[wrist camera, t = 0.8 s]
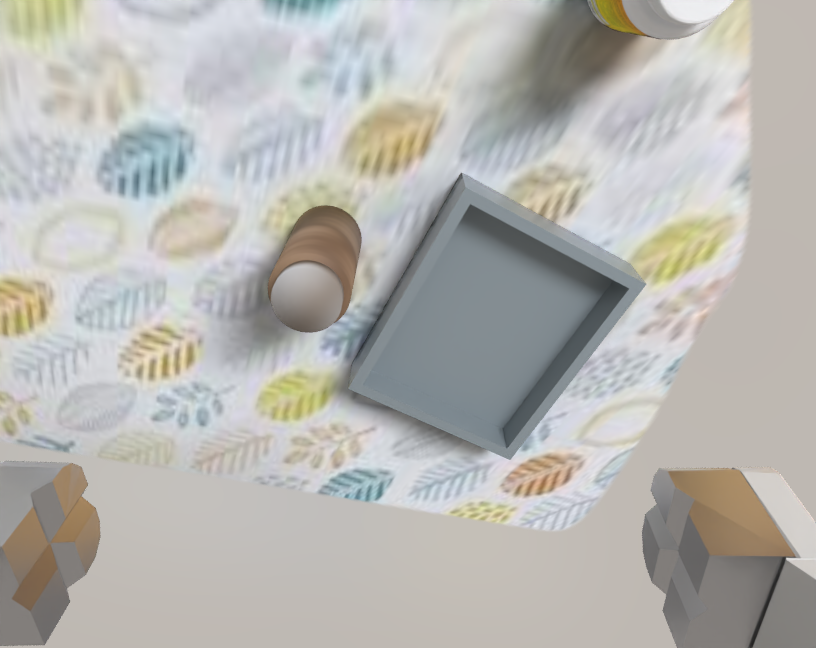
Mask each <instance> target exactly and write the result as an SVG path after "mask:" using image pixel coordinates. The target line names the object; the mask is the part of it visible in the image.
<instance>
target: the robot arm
mask: <svg viewBox="0 0 816 648" xmlns="http://www.w3.org/2000/svg"><path fill="white" fill-rule="evenodd" d="M87 486H88V483H87V481H86V478H85V475H84V473H83V470H82V468H81V467H80V466H78V465H75V464H73V463H55V462H24V461H4V462H0V646H9V645H10V646H11V645H12V646H14V645H45V644H46V642H47V640H48V639H49V637H50V635H51V633H52V632H53V630H54V628H55V627H56V625H57V623H58V622H59V620H60V618H61V616H62V615H63V613H64V611H65V610H66V608H67V606H68V604H69V603H70V600H69V595H68V591H67V588H68V587H69V586H71V585H72V584H74V583H75V582H76V581H78V580H79V579H80V578H82V577H83V576H85V575H86V573H87V572H88V570H89V568H90V566H91V564H92V562H93V561H94V559H95V556H96V553H97V548H98V544H99V540H100V521H99V517H98V514H97V511H96V508H95V507H94V506H92V505H91V504H90V503H89V502H88V501H86V500H85V499H84V498H83V497H82V494H83V493H84V491H85V489H86V487H87ZM651 492H652V494H653V496H654V499H655V501H656V503H657V504H656V505H655V506H654V507H653V508H652V509H651V510H649V511H648V512H647V513H646V514H645V519H644V525H643V530H642V538H643V539H642V540H643V554H644V559H645V563H646V567H647V570H648V573H649V576H650V578H651V581H652V583H653V584H655V585H656V586H657V587H658V588H659V589H661V590H662V591H663V592H664V593H665V594H666V599H665V603H664V607H663V613H664V615H665V618H666V621H667V623H668V626H669V628H670V631H671V633H672V636H673V638H674V641H675V643H676V646H677V648H816V522H815V521H814V519H813V518H812V517H811V515H810V514H809V513H808V511H807V510H806V509H805V507H804V506H803V504H802V503H801V502H800V501H799V499H798V498H797V496H796V495H795V494H794V492H793V491H792V490H791V488H790V487H789V485H788V484H787V483H786V481H785V480H784V479H783V477H782V476H781V475H780V473H779V472H778V471H776V470H774V469H772V468H771V467H733V468H732V469H729V468H659V469H658V470H657V472H656V474H655V476H654V478H653V483H652V487H651Z"/></svg>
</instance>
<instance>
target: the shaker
mask: <svg viewBox="0 0 816 648" xmlns="http://www.w3.org/2000/svg"><path fill="white" fill-rule="evenodd" d="M360 248H361V232H360V229H359V227H358V225H357V223H356V221H355V220H354V219H353V218H352V217H351V216H350V215H349V214H348V213H347V212H345V211H344V210H342V209H339V208H337V207H333V206H318V207H314V208H312V209H310V210H308V211H306V212H305V213H304V214H303V215H302V216H301V217H300V218H299V219H298V221H297V223H296V225H295V227H294V229H293V231H292V233H291V235H290V237H289V239H288V241H287V243H286V245H285V247H284V249H283V251H282V253H281V255H280V257H279V259H278V261H277V263H276V265H275V267H274V269H273V271H272V273H271V276H270V278H269V282H268V295H269V299H270V302H271V304H272V308H273V311H274V312H275V314H276V316H277V317H278V318H279V319H280V321H281V322H283V323H284V324H285V325H286V326H288V327H290V328H292V329H294V330H297V331H300V332H318V331H321V330H324V329H326V328H328V327H329V326H331V325H332V324H333V323H335V322H336V321H338V320H339V319H340V318H341V317H342V316H343V315H344V313H345V312H346V310H347V308H348V306H349V303H350V299H351V294H352V289H353V284H354V278H355V273H356V268H357V263H358V258H359V253H360Z"/></svg>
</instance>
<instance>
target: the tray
mask: <svg viewBox="0 0 816 648" xmlns="http://www.w3.org/2000/svg"><path fill="white" fill-rule="evenodd" d="M645 285H646V283H645V282H644V281H643V279H642V278H641V277H640V276H639V274H638V273H637V272H636V270H635V269H634V268H633V267H632V265H631V264H629V263H627V262H626V261H624V260H622V259H620V258H618V257H616V256H614V255H613V254H611V253H609V252H607V251H605V250H603V249H602V248H600V247H598V246H596V245H594V244H592V243H590V242H589V241H587V240H585V239H583V238H581V237H579V236H578V235H576V234H574V233H572V232H570V231H568V230H566V229H565V228H563V227H561V226H559V225H557V224H555V223H554V222H552V221H550V220H548V219H546V218H544V217H542V216H541V215H539V214H537V213H535V212H533V211H531V210H530V209H528V208H526V207H524V206H522V205H520V204H518V203H517V202H515V201H513V200H511V199H509V198H507V197H506V196H504V195H502V194H500V193H498V192H496V191H494V190H493V189H491V188H489V187H487V186H485V185H483V184H482V183H480V182H478V181H476V180H474V179H472V178H470V177H469V176H467V175H465V174H463V173H461V175H460V177H459V178H458V180H457V182H456V184H455V185H454V187H453V189H452V191H451V192H450V194H449V196H448V198H447V199H446V201H445V203H444V205H443V206H442V208H441V210H440V212H439V213H438V215H437V217H436V219H435V220H434V222H433V224H432V225H431V227H430V229H429V231H428V232H427V234H426V236H425V238H424V239H423V241H422V243H421V245H420V246H419V248H418V250H417V252H416V253H415V255H414V257H413V259H412V260H411V262H410V264H409V266H408V267H407V269H406V271H405V273H404V274H403V276H402V278H401V280H400V281H399V283H398V285H397V286H396V288H395V290H394V292H393V293H392V295H391V297H390V299H389V300H388V302H387V304H386V306H385V307H384V309H383V311H382V313H381V314H380V316H379V318H378V320H377V321H376V323H375V325H374V327H373V328H372V330H371V332H370V334H369V335H368V337H367V339H366V340H365V342H364V344H363V346H362V347H361V349H360V351H359V353H358V354H357V356H356V358H355V360H354V361H353V363H352V367H351V374H350V380H349V386H348V389H349V390H352V391H354V392H356V393H359V394H361V395H363V396H365V397H368V398H370V399H372V400H375V401H377V402H379V403H381V404H384V405H386V406H388V407H391V408H393V409H395V410H397V411H400V412H402V413H404V414H407V415H409V416H411V417H413V418H416V419H418V420H420V421H422V422H425V423H427V424H429V425H432V426H434V427H436V428H438V429H441V430H443V431H445V432H448V433H450V434H452V435H454V436H457V437H459V438H461V439H464V440H466V441H468V442H470V443H473V444H475V445H477V446H480V447H482V448H484V449H486V450H489V451H491V452H493V453H496V454H498V455H500V456H502V457H505V458H507V459H509V460H510V459H511V458H512V457H513V456H514V454H515V453H516V452H517V450H518V449H519V448H520V447H521V445H522V444H523V443H524V441H525V440H526V439H527V438H528V436H529V435H530V434H531V432H532V431H533V430H534V429H535V427H536V426H537V425H538V423H539V422H540V421H541V420H542V418H543V417H544V416H545V414H546V413H547V412H548V410H549V409H550V408H551V407H552V405H553V404H554V403H555V401H556V400H557V399H558V398H559V396H560V395H561V394H562V392H563V391H564V390H565V389H566V387H567V386H568V385H569V383H570V382H571V381H572V380H573V378H574V377H575V376H576V374H577V373H578V372H579V370H580V369H581V368H582V367H583V365H584V364H585V363H586V361H587V360H588V359H589V358H590V356H591V355H592V354H593V352H594V351H595V350H596V349H597V347H598V346H599V345H600V343H601V342H602V341H603V340H604V338H605V337H606V336H607V334H608V333H609V332H610V331H611V329H612V328H613V327H614V325H615V324H616V323H617V321H618V320H619V319H620V318H621V316H622V315H623V314H624V312H625V311H626V310H627V309H628V307H629V306H630V305H631V303H632V302H633V301H634V300H635V298H636V297H637V296H638V294H639V293H640V292H641V291H642V289H643V288H644V287H645Z"/></svg>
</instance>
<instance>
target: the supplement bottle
mask: <svg viewBox="0 0 816 648" xmlns="http://www.w3.org/2000/svg"><path fill="white" fill-rule="evenodd" d="M587 1H588V5H589V7H590V9H591V11H592V13H593V14H594V16H595V17H596V18H597V19H598V20H599V21H600V22H601V23H602V24H604V25H605V26H607V27H609V28H611V29H613V30H616V31H621V32H626V33H631V34H636V35H642V36H647V37H652V38H657V39H667V40H671V39H680V38H684V37H688V36H690V35H693V34H695V33H697V32H699V31H700V30H702V29H704V28H705V27H707V26H708V25H709V24H710V23H712V22H713V21H714V20H715V19H716V18H717V17H718V16H719V15H720V14H721V13H722V12H724V11H725V10H726V9H727V8H728V7H729V6H730V4H731V3H732V2H733V1H734V0H587Z"/></svg>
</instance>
